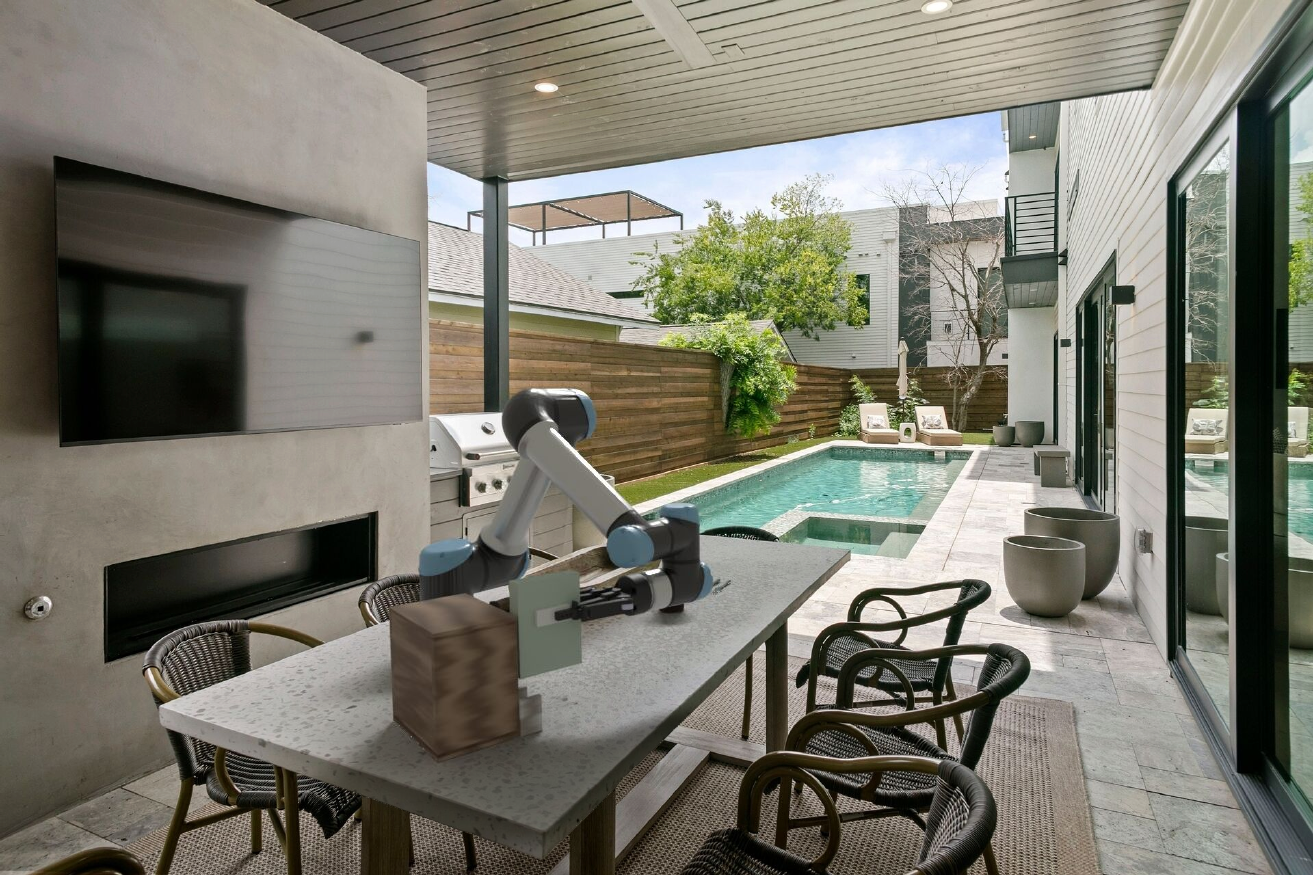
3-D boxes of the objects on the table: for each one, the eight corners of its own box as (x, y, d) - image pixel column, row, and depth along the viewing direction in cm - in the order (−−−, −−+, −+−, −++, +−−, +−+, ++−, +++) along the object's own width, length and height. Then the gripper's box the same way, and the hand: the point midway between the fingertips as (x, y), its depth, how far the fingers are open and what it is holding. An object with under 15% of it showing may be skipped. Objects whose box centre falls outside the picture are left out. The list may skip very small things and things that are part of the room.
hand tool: (498, 617, 196) (498, 599, 195) (488, 614, 198) (487, 597, 198) (551, 601, 211) (550, 584, 210) (541, 598, 213) (540, 582, 213)
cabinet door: (520, 679, 126) (517, 583, 126) (512, 674, 129) (508, 580, 128) (581, 662, 134) (579, 572, 133) (572, 658, 136) (570, 569, 135)
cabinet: (438, 763, 117) (434, 634, 116) (393, 720, 133) (388, 607, 132) (542, 730, 128) (539, 612, 127) (488, 694, 144) (485, 589, 143)
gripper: (669, 621, 137) (555, 650, 123) (617, 603, 150) (509, 627, 135) (668, 580, 137) (554, 604, 122) (616, 565, 150) (507, 586, 135)
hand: (530, 616), depth 129 cm, fingers closed on cabinet door, 3 cm apart
